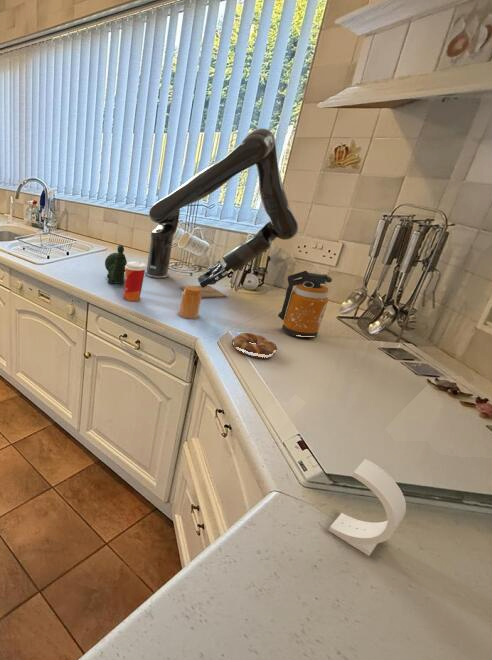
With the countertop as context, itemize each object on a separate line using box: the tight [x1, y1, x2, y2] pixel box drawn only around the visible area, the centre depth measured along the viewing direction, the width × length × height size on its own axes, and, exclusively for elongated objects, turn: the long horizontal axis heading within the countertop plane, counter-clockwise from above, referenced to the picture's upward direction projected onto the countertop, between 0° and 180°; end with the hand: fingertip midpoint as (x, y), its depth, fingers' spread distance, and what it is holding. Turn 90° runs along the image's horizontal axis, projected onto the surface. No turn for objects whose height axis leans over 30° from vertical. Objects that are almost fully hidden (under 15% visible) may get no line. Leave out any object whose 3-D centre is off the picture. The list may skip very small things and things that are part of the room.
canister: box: [277, 270, 333, 339], centre depth 120 cm, size 9×11×20 cm
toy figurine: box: [104, 244, 128, 286], centre depth 171 cm, size 9×19×25 cm
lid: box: [197, 274, 217, 286], centre depth 156 cm, size 6×6×2 cm
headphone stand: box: [328, 458, 407, 557], centre depth 58 cm, size 5×6×12 cm
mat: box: [180, 285, 227, 299], centre depth 158 cm, size 12×12×1 cm
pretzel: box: [231, 332, 278, 360], centre depth 114 cm, size 12×11×4 cm
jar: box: [178, 285, 202, 320], centre depth 136 cm, size 6×6×10 cm
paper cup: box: [123, 261, 147, 302], centre depth 151 cm, size 8×8×14 cm
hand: (200, 283), depth 157 cm, fingers closed on lid, 6 cm apart
